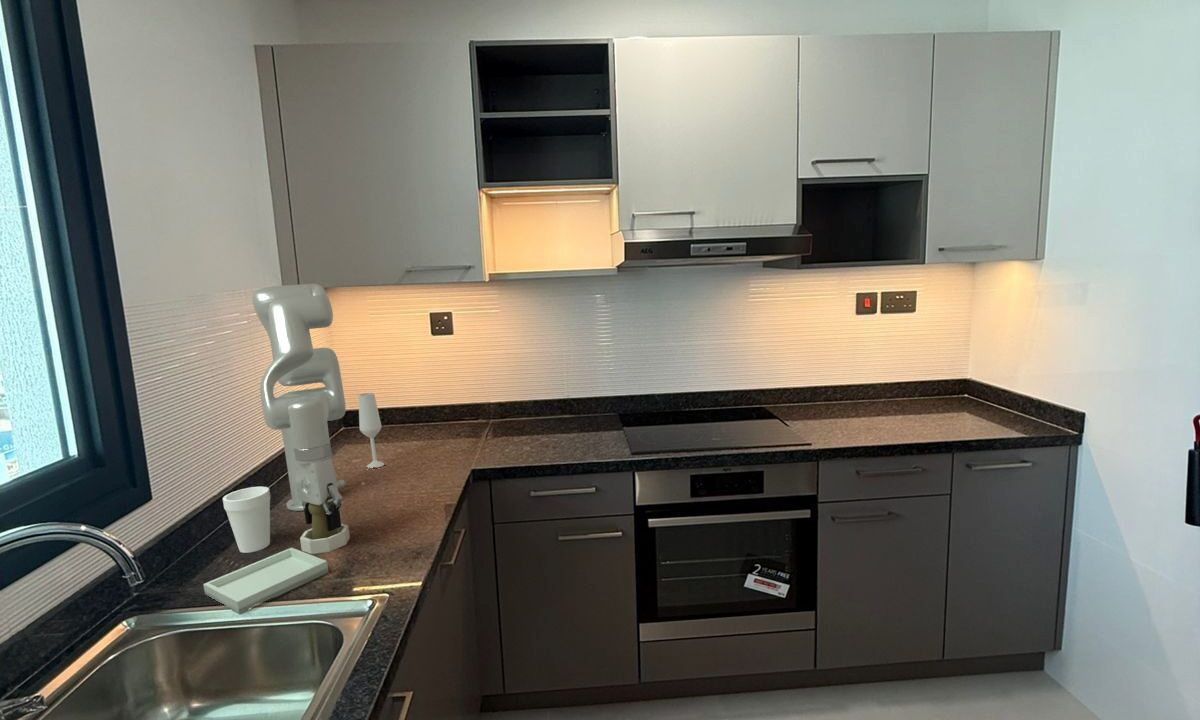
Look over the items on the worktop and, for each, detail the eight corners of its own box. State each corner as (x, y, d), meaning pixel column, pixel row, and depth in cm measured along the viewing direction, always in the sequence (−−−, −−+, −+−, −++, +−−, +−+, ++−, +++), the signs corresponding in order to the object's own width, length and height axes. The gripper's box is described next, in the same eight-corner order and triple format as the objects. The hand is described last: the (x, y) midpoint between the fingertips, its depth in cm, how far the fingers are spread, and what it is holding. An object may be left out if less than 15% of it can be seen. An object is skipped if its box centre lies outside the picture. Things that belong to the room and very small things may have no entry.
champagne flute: (383, 468, 200) (373, 395, 197) (361, 470, 200) (352, 397, 197) (388, 462, 207) (379, 391, 204) (368, 463, 207) (359, 393, 203)
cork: (312, 542, 146) (305, 497, 145) (340, 536, 149) (333, 492, 147) (311, 552, 141) (304, 505, 139) (340, 545, 143) (334, 500, 142)
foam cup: (284, 536, 151) (276, 485, 149) (265, 553, 142) (256, 499, 140) (244, 539, 151) (236, 488, 149) (223, 557, 142) (213, 502, 140)
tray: (292, 558, 138) (291, 547, 138) (328, 572, 130) (327, 561, 130) (205, 595, 124) (203, 584, 124) (239, 614, 116) (237, 601, 115)
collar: (333, 532, 151) (331, 520, 151) (356, 539, 146) (355, 527, 145) (295, 548, 144) (293, 535, 143) (318, 556, 138) (316, 544, 138)
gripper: (277, 453, 144) (288, 525, 146) (319, 462, 134) (330, 539, 136) (307, 444, 150) (317, 513, 152) (350, 452, 140) (360, 526, 142)
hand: (323, 525), depth 144 cm, fingers open, 8 cm apart
